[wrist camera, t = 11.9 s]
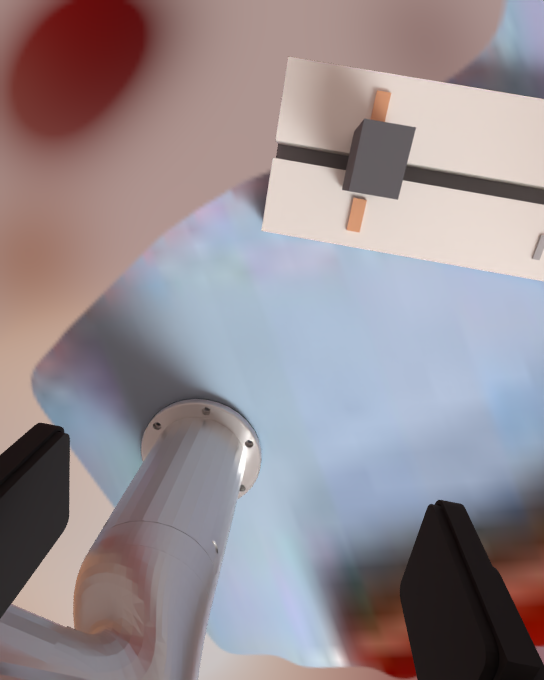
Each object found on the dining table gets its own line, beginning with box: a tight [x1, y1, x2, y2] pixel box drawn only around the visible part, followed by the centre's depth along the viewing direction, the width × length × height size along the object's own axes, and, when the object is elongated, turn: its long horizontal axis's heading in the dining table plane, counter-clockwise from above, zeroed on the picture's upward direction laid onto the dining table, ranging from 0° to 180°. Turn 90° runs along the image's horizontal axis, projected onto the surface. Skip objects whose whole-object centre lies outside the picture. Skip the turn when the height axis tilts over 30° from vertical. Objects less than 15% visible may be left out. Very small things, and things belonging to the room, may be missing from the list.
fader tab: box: [342, 118, 416, 200], centre depth 30 cm, size 4×3×10 cm
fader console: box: [262, 56, 544, 281], centre depth 34 cm, size 12×26×4 cm, turn 81°
